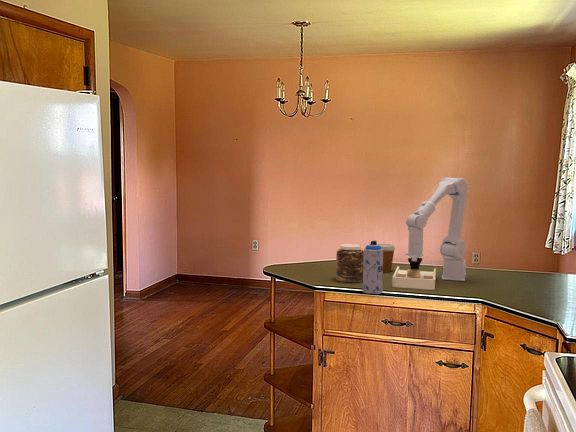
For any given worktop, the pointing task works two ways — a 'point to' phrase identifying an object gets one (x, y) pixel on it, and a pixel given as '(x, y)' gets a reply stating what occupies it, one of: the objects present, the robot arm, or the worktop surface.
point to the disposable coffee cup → (387, 256)
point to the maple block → (413, 273)
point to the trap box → (414, 280)
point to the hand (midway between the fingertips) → (414, 275)
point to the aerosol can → (373, 269)
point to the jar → (349, 263)
